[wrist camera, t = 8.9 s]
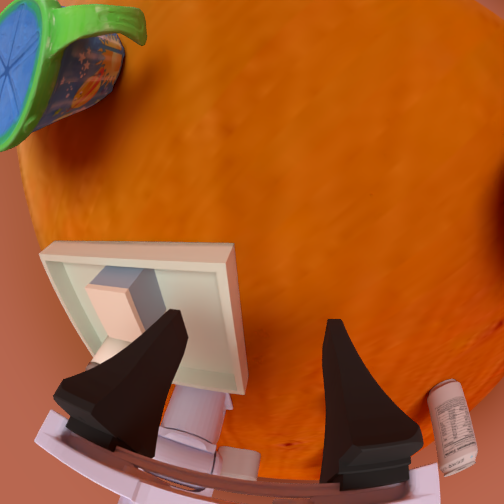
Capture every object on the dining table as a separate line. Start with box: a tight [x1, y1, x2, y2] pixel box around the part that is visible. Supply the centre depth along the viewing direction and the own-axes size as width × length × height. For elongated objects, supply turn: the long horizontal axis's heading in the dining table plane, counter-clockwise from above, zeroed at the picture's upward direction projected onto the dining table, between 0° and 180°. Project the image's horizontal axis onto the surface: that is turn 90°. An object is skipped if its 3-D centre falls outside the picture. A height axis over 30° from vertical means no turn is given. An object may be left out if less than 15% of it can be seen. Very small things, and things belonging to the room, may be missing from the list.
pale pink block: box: [85, 265, 166, 342], centre depth 23 cm, size 6×5×5 cm
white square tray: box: [39, 241, 249, 395], centre depth 27 cm, size 19×22×3 cm
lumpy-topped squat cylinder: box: [218, 446, 261, 481], centre depth 49 cm, size 10×13×9 cm
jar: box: [86, 336, 132, 371], centre depth 28 cm, size 5×5×7 cm
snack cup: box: [0, 0, 147, 152], centre depth 11 cm, size 16×10×10 cm
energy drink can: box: [427, 379, 478, 477], centre depth 23 cm, size 6×6×15 cm
